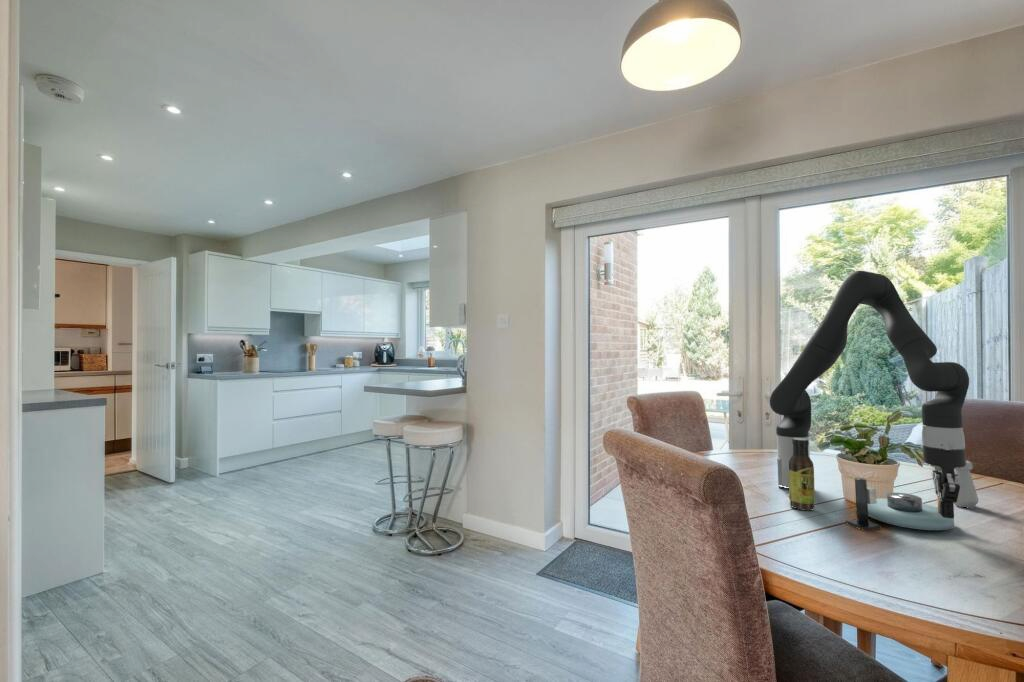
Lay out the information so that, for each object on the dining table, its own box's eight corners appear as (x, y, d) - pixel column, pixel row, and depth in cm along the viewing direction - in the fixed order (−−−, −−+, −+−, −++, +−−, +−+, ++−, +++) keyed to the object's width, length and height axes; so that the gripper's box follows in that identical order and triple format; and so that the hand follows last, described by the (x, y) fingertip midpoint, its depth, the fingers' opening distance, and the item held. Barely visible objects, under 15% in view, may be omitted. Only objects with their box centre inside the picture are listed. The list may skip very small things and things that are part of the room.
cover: (890, 510, 118) (890, 497, 118) (884, 502, 124) (884, 490, 124) (926, 514, 115) (925, 501, 115) (918, 505, 121) (917, 493, 121)
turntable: (868, 522, 115) (866, 494, 116) (858, 502, 131) (857, 477, 131) (965, 535, 106) (963, 505, 106) (942, 511, 121) (941, 485, 122)
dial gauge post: (863, 530, 113) (861, 482, 114) (845, 523, 118) (843, 477, 119) (885, 528, 114) (882, 480, 115) (866, 521, 119) (864, 475, 120)
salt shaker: (966, 503, 131) (964, 458, 131) (985, 509, 125) (982, 462, 126) (944, 502, 132) (942, 458, 132) (962, 509, 126) (959, 462, 126)
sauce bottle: (805, 512, 127) (802, 441, 127) (784, 506, 132) (781, 438, 133) (820, 509, 129) (817, 439, 130) (799, 503, 135) (796, 436, 135)
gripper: (916, 438, 117) (920, 506, 116) (929, 448, 106) (933, 523, 105) (956, 441, 113) (960, 511, 112) (973, 451, 102) (978, 529, 101)
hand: (947, 517), depth 109 cm, fingers closed
